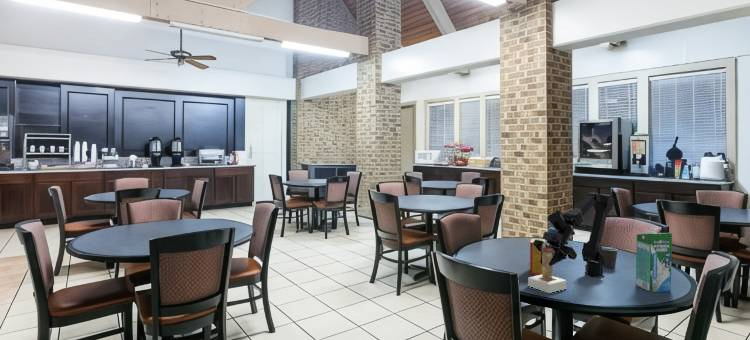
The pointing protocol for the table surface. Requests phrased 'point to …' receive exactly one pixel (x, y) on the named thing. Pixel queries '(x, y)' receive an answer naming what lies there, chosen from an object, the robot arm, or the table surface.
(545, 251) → the tan cylindrical container
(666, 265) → the milk carton
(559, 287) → the socket
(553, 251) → the beverage bottle
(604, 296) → the table surface
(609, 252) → the coffee cup
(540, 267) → the baking soda box
